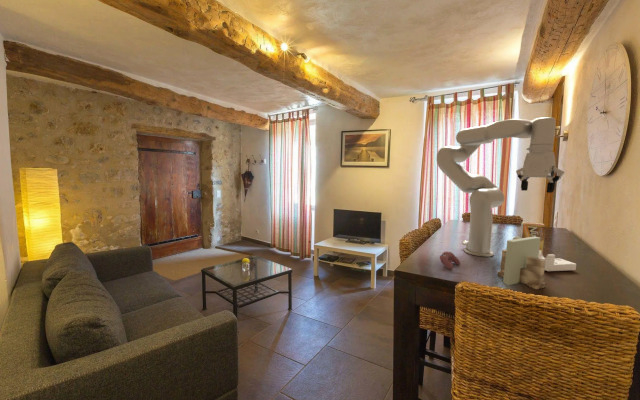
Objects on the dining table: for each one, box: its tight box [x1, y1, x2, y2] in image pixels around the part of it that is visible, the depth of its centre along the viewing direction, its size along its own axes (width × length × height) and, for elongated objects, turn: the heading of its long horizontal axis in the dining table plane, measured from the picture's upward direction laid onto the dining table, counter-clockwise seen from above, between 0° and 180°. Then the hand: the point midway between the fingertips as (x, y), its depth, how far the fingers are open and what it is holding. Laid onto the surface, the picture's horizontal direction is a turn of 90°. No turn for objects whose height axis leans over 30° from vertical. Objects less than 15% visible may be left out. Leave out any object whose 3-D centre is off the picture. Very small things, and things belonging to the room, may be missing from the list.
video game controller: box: [439, 251, 461, 271], centre depth 122 cm, size 10×5×7 cm, turn 136°
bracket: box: [538, 250, 577, 272], centre depth 120 cm, size 13×7×8 cm, turn 98°
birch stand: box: [497, 249, 546, 290], centre depth 107 cm, size 14×5×10 cm, turn 24°
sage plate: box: [502, 236, 540, 286], centre depth 106 cm, size 2×16×16 cm, turn 114°
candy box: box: [519, 221, 546, 253], centre depth 139 cm, size 9×4×15 cm, turn 68°
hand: (536, 191), depth 118 cm, fingers open, 9 cm apart
